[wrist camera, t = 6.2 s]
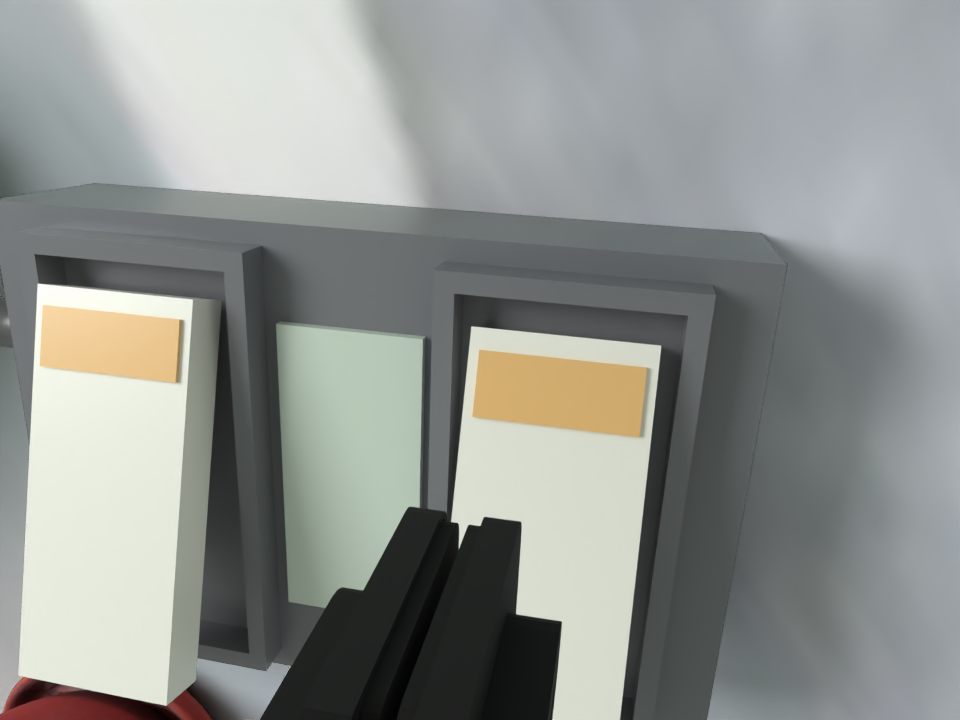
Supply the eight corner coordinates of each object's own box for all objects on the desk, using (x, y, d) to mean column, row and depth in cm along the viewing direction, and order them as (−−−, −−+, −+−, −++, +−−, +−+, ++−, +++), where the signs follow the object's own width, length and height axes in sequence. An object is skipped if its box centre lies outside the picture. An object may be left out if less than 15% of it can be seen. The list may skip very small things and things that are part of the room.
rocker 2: (481, 328, 22) (470, 326, 21) (658, 346, 22) (661, 345, 20) (439, 735, 23) (425, 766, 21) (611, 769, 22) (610, 804, 20)
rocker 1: (75, 285, 24) (34, 283, 23) (221, 300, 24) (190, 299, 22) (56, 652, 25) (15, 677, 24) (196, 680, 24) (164, 707, 23)
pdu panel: (13, 177, 30) (-140, 196, 24) (761, 232, 25) (795, 274, 19) (68, 539, 35) (-46, 625, 29) (694, 643, 30) (705, 773, 24)
